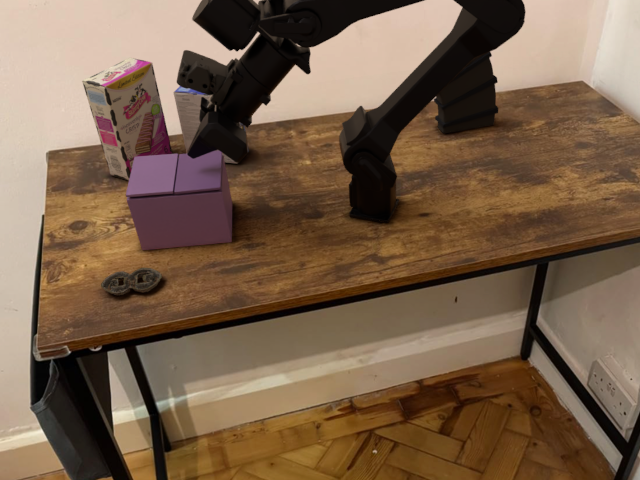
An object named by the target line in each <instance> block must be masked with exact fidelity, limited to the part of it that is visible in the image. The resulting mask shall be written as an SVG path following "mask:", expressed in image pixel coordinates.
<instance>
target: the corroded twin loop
mask: <svg viewBox="0 0 640 480" xmlns="http://www.w3.org/2000/svg"><path fill="white" fill-rule="evenodd" d="M162 277H163V276H162V273H161V272H160V271H159V270H156V269H154V268H152V267H140V268H137V269H135V270H134V271H132V272H131V273H129V272H126V271H123V270H121V271H115V272H114V273H111V274H109V275H108V276H106V277H105V278H104V279H103V280H102V281H101V283H100V287H101V288H102V289H103V290H104V291H105V292H107V293H109V294H111V295H114V296H124V295H125V294H127V293H129V292H130V291H131V290H132V289H133V291H135V292H137V293H138V292H139V293H143V294H144V293H149V291H151V290H153V289H154V288H157V286H158V284H159V283H160V281H161V279H162ZM140 278H142V280H143V281H144V282H138V279H140ZM119 281H123V285H119Z"/></svg>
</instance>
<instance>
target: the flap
mask: <svg viewBox="0 0 640 480" xmlns="http://www.w3.org/2000/svg"><path fill="white" fill-rule="evenodd" d="M178 158H179V160H178V168H177V175H176V183H175V190H174V193H175V194H182V193H192V192H202V191H212V190H221V174H222V152H221V151H219V150H218V151H213V152H210V153H207V154H205V155H202V156H200V157H197V158H195V159H192V158H191V157H189V156H188V155H187V154H186V153H178Z"/></svg>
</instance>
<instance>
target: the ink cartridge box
mask: <svg viewBox="0 0 640 480" xmlns="http://www.w3.org/2000/svg"><path fill="white" fill-rule="evenodd" d="M173 96H174V101H175V106H176V111H177V116H178V119H179V124H180V129H181V130H180V131H181V134H182V138H183V139H182V140H183V143H184V149H185V154H187V152H188V149H189V147H190V145H191V143H192V140H193V138H194V136H195V134H196V132H197V129H198V127H199V125H200V120H199V115H200V109H201V107H200V105H201V97H204V98H206V99H207V100H208V99H209V98H210V96H211V95H208V94H205V93H201V92H198V91H195V90H192V89H190V88H188V89H186V88H183V87H181V86H178V87H177V88H176V89H175V90H174V91H173ZM239 124H240V125H241V126H242V129H243V130H244V131H246V132H247V129H246V126H244V125H243V124H242V123H240V122H239ZM215 151H218V150H215ZM249 152H250V149H249V148H248V153H249ZM222 155H223V156H224V161H225V164H226V163H227V164H234V165H235V164H237V165H238V164H239V163H237V162H235V161H233V160H232V159H230V158H229V157H228V156H226V155H225V154H223V153H222Z"/></svg>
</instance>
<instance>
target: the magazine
mask: <svg viewBox="0 0 640 480" xmlns="http://www.w3.org/2000/svg"><path fill="white" fill-rule="evenodd" d="M491 57H493V55H492V51H490V52H488V53H486V54H483V55H481V56H478V57H476V58H475V59H473V60H472V61H471V62H470V63H469V64H468V65H467V66H466V67H465V68H464V69H463V70H462V71H461V72H460V73H459V74H458V75H457V76H456V77H455V78H454V79H453V80H452V81H451V82H450V83H449V84H448V85H447V86H446V87H445V88H444V89H443V90H442V91H441V92H440V93H439V94H438V95H437V96H436V97H435V98H434V99H433V102H434V103H435V104H436V105H437V115H435V116H434V121H436V122H437V129H439V131H441V133H442V134H451V133H456V132H457V133H458V132H463V131H467V130H473V129H474V130H475V129H480V128H485V127H490V126H494V125H495V121H496V120H495V119H496V114H499V107H498V105H496V104H497V92H496V84H497V83H498V81H499V80H498V77H497V76H496V75H495V74H494V70H493V64H492V61H491Z"/></svg>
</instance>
